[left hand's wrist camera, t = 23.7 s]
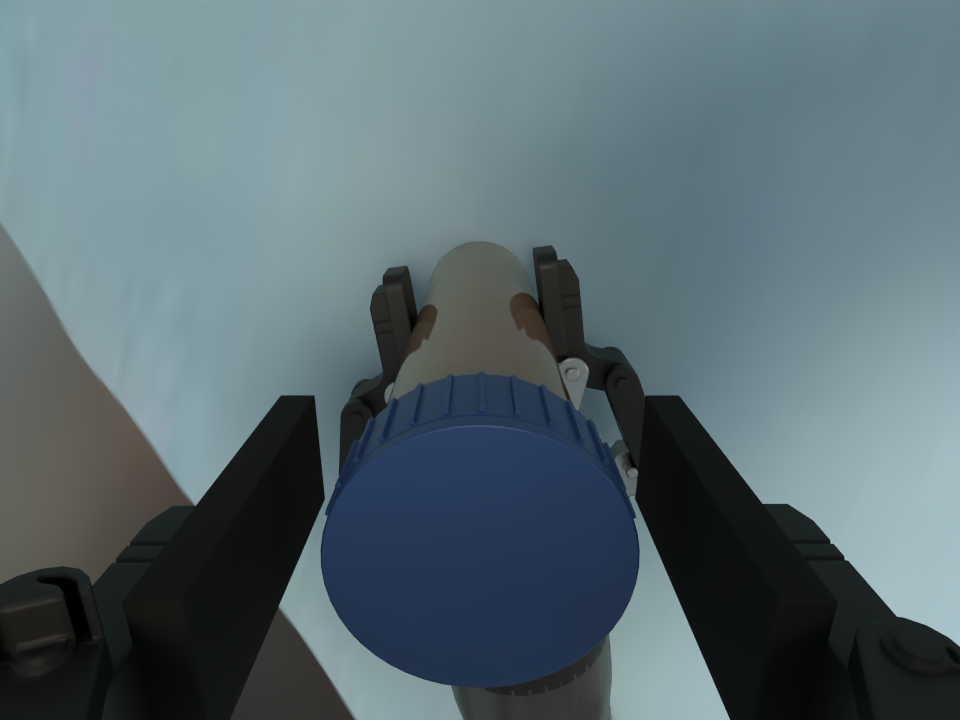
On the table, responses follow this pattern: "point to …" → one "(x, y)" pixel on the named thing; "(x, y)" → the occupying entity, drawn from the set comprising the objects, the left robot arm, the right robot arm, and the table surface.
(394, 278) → the right robot arm
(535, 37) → the table surface
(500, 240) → the table surface
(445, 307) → the tan cylinder
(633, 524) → the lid
